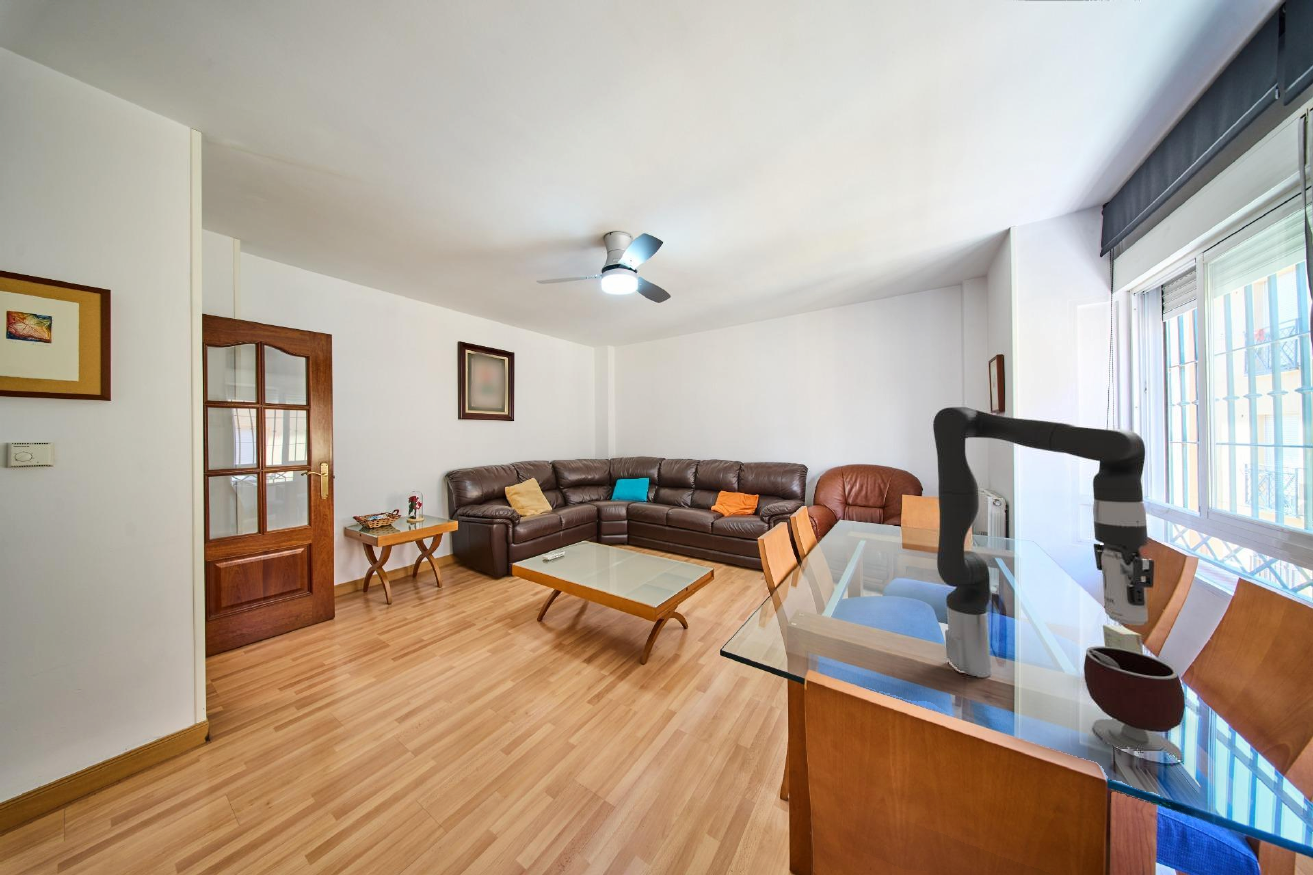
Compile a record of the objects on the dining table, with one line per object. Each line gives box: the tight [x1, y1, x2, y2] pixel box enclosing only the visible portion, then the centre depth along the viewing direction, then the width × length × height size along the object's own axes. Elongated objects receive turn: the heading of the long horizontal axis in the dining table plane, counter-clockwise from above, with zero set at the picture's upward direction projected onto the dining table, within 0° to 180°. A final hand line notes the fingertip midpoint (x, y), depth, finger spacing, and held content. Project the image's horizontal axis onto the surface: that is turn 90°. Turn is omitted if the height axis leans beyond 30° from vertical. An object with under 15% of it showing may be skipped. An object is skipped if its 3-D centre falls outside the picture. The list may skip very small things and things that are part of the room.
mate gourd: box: [1083, 645, 1186, 761], centre depth 86 cm, size 16×14×20 cm
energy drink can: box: [1101, 548, 1149, 626], centre depth 86 cm, size 6×6×15 cm
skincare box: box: [1102, 624, 1144, 654], centre depth 109 cm, size 6×4×12 cm
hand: (1124, 598), depth 86 cm, fingers closed on energy drink can, 6 cm apart
